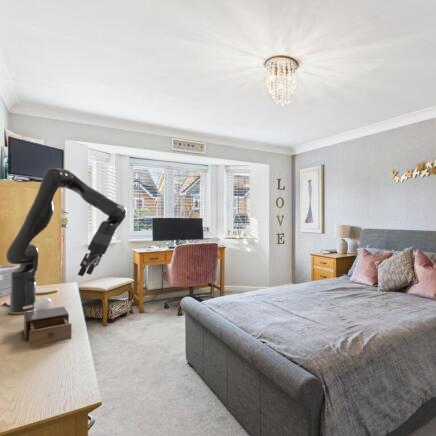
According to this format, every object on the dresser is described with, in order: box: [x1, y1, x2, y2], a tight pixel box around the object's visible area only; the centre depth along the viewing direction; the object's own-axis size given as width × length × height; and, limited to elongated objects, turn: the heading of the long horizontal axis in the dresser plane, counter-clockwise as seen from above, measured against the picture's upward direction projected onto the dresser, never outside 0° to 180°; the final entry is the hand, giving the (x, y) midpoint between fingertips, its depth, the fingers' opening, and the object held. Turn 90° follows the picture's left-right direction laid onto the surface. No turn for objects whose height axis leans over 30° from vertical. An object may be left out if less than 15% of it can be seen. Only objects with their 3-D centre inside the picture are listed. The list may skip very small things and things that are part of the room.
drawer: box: [28, 317, 72, 349], centre depth 120 cm, size 14×12×6 cm
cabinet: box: [23, 306, 70, 341], centre depth 130 cm, size 14×14×8 cm
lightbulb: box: [34, 296, 53, 311], centre depth 141 cm, size 6×6×11 cm
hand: (84, 274), depth 147 cm, fingers open, 8 cm apart
